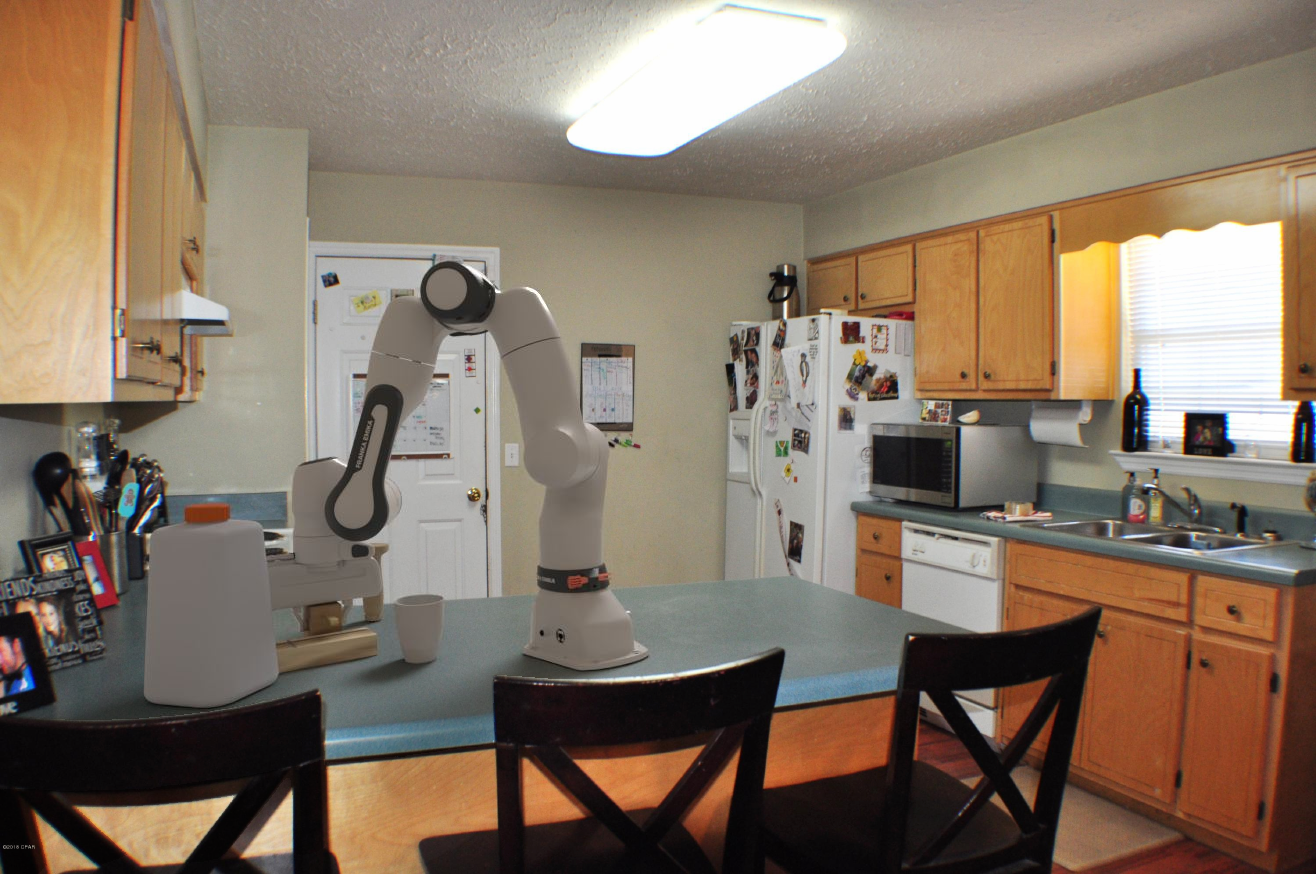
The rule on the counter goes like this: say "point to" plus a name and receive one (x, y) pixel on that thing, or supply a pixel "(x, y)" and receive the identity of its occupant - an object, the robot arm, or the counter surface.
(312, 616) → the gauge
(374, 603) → the handle
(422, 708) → the counter surface
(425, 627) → the cup
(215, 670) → the plastic bottle
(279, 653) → the board
